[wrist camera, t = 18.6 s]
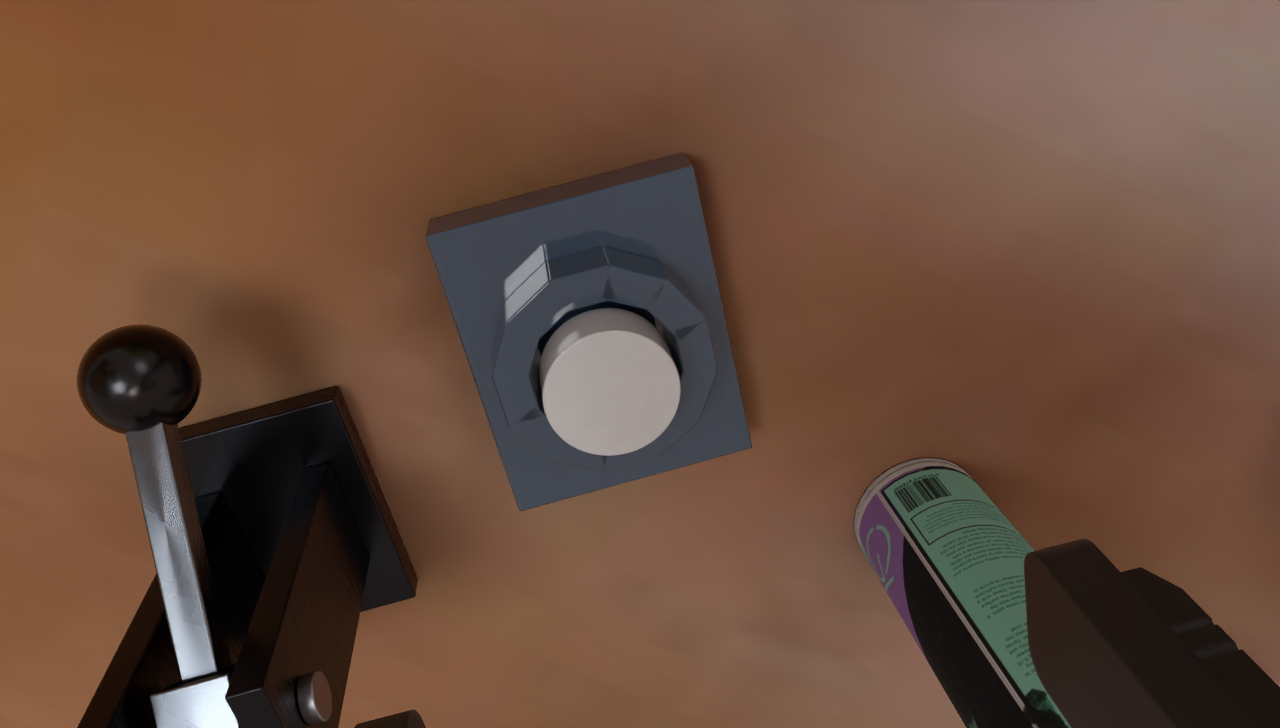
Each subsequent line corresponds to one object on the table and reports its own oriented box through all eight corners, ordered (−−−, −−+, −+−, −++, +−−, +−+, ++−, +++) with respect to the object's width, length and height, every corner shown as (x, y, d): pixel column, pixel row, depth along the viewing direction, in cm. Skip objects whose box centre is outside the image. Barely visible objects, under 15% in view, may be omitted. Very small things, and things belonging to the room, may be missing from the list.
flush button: (523, 327, 32) (525, 352, 30) (654, 292, 32) (664, 314, 30) (558, 441, 34) (563, 471, 32) (682, 407, 34) (693, 436, 32)
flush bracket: (149, 435, 35) (-18, 685, 24) (338, 384, 36) (264, 607, 24) (247, 626, 39) (146, 919, 28) (418, 579, 39) (388, 851, 28)
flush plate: (428, 219, 34) (421, 255, 30) (682, 152, 34) (705, 179, 30) (518, 484, 38) (520, 543, 35) (740, 423, 39) (765, 475, 35)
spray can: (827, 534, 41) (1088, 1010, 23) (910, 435, 40) (1257, 860, 22) (920, 586, 43) (1229, 1064, 25) (1003, 493, 42) (1395, 930, 24)
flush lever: (104, 347, 30) (41, 334, 27) (206, 320, 30) (156, 304, 27) (199, 771, 29) (145, 810, 26) (305, 742, 29) (264, 777, 26)
